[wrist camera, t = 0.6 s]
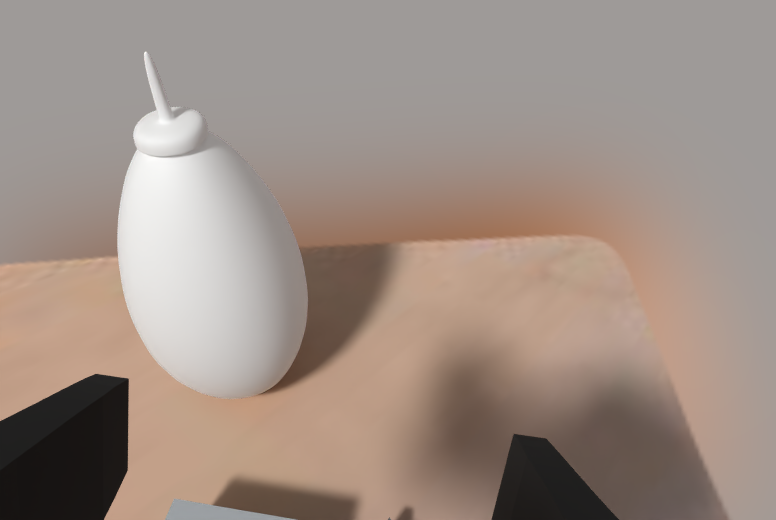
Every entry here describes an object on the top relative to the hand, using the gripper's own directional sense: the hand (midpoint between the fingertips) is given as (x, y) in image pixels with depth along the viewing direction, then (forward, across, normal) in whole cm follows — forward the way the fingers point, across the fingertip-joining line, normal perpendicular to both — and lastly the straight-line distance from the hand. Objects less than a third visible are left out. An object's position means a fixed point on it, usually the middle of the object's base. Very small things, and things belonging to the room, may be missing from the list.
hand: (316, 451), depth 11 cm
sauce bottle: (+20, +5, +11) cm, 23 cm away
